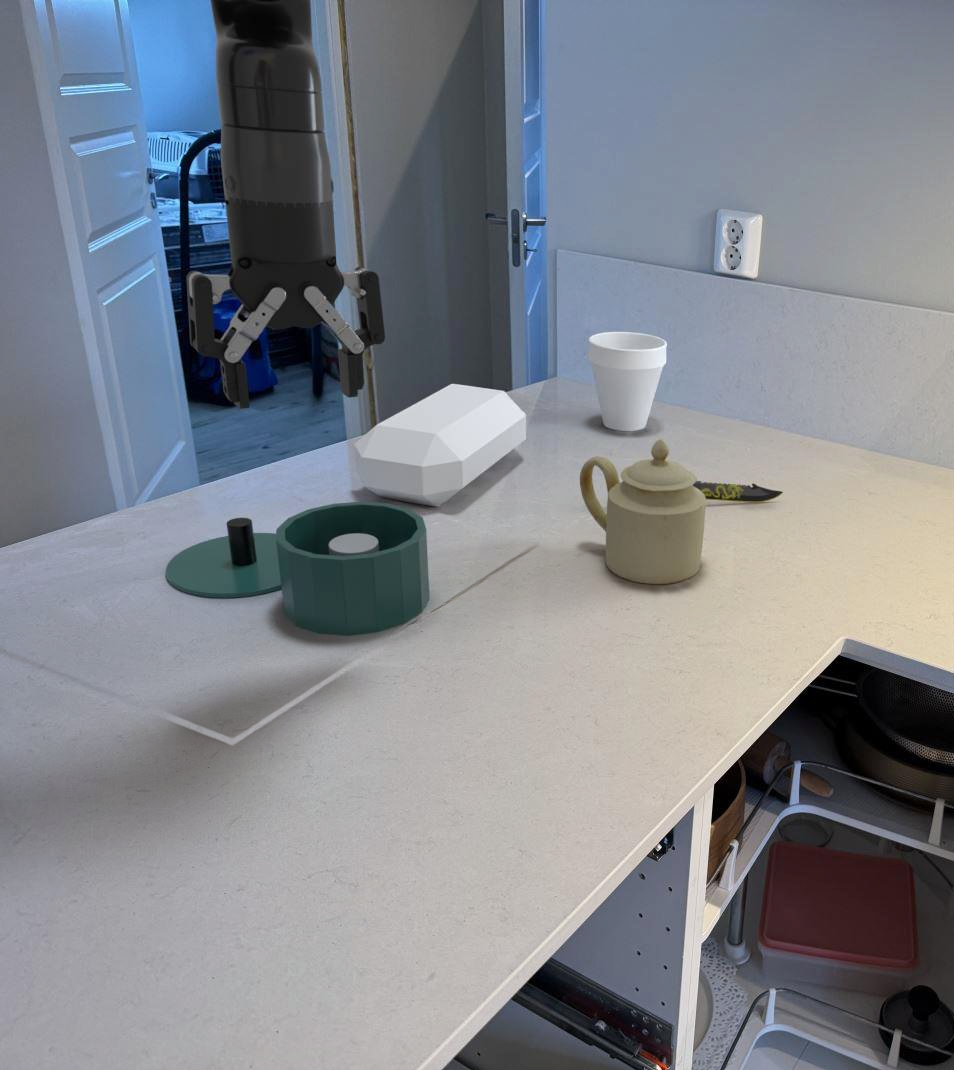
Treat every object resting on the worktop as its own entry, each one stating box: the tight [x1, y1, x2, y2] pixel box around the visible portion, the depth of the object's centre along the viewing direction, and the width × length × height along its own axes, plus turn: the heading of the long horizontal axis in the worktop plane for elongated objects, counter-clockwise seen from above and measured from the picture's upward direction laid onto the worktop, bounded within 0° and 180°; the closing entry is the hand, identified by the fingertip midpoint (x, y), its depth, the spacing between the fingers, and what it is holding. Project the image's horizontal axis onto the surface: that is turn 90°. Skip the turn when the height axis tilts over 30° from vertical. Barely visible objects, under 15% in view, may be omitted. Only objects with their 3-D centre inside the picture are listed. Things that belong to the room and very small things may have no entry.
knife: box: [693, 480, 784, 503], centre depth 130 cm, size 23×2×5 cm, turn 107°
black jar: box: [329, 533, 379, 556], centre depth 98 cm, size 5×5×6 cm
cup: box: [587, 331, 668, 432], centre depth 157 cm, size 12×12×14 cm
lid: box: [165, 517, 282, 599], centre depth 103 cm, size 15×15×6 cm
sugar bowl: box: [579, 438, 707, 585], centre depth 110 cm, size 15×11×15 cm
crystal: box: [353, 383, 527, 508], centre depth 131 cm, size 14×10×28 cm
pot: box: [275, 501, 431, 637], centre depth 98 cm, size 14×14×8 cm
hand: (297, 400), depth 81 cm, fingers open, 8 cm apart
